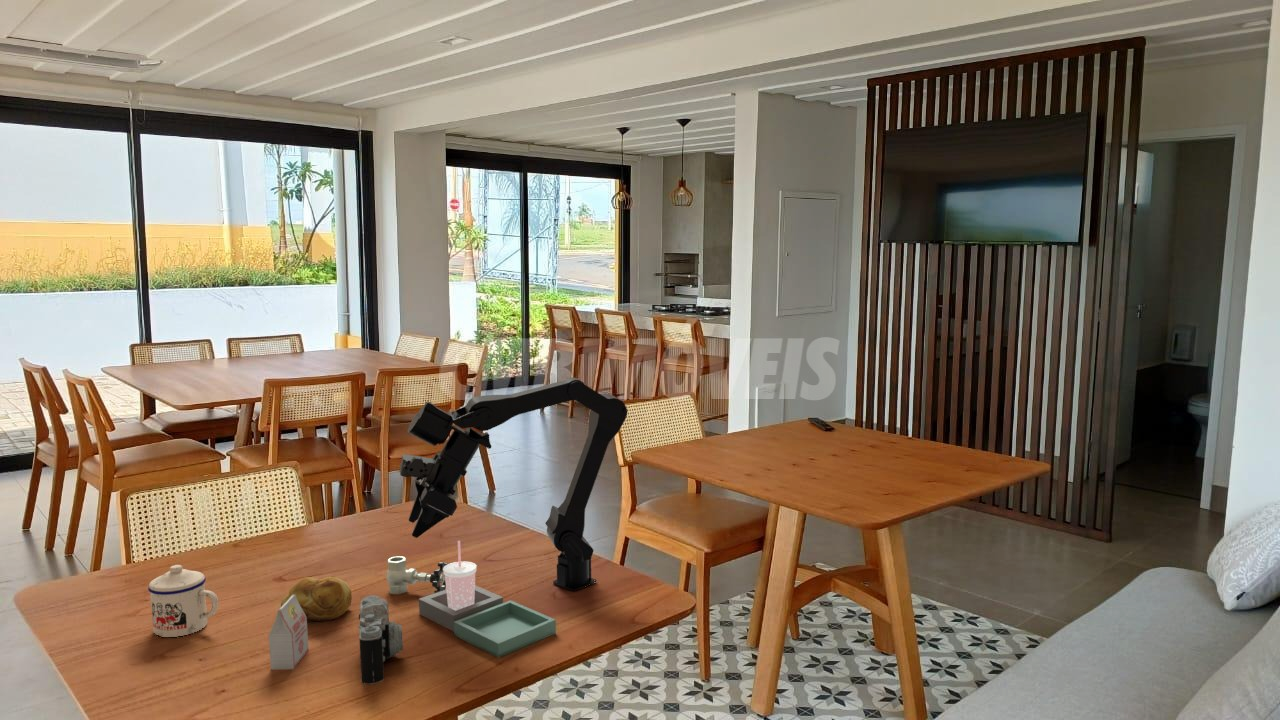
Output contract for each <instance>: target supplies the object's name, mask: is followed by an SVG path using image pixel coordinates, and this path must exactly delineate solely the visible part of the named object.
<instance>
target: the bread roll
mask: <svg viewBox="0 0 1280 720" xmlns="http://www.w3.org/2000/svg"><path fill="white" fill-rule="evenodd" d="M295 594H296V598H297V600H298V602H299V604H300V606H301V608H302V610H303V612H304V613H305V615H306V617H307V621H308V620H309V621H312V622H313V621H314V622H322V621H331V620H332V621H333V620H335V619H338V618H340V617H341V616H343V615H344V614H345V613H346V612H347V611H348V610H349V608H350V606H351V605H352V600H353V597H352V595H353V594H352V589H351V587H350V586H349V585H348V584H347V582H345V580H342V579H340V578H338V577H335V576H326V577H324V578H321V579H318V578H317V577H313V576H311V577H310V576H307V577H301V578H300V579H298V580H297V581H296V582H294V583H293V585H291V587H290V588H289V590H288V594H287V595H285V596H284V597H283V598H282V599H281V601H280V602H281V603H280V608H281V607H282V606H283V605H284V604H285V603H286V602H287V600H288V599H289V598H290V597H291V596H292V595H295Z"/></svg>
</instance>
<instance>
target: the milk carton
mask: <svg viewBox="0 0 1280 720" xmlns="http://www.w3.org/2000/svg"><path fill="white" fill-rule="evenodd" d="M307 622H308V619H307V617H306V615H305V613H304V612H303V610H302V608H301V606H300V604H299V602H298V600H297V598H296V594H295V595H292V596H291V597H290V598H289V599H288V600H287V602H286V603H285V604H284V605H283V606H282V607H281V606H280V608H279V609H278V610H277V615H276V617H275V619H274V622H273V625H272V627H271V629H270V631H269V633H268V644H269V645H268V646H269V660H270V661H269V662H270V670H271V669H272V670H295V668H296V667H297V666H298V664H299V663H300V662H301V661H300V660H302V659H303V658H304V657H305V655H307V653H308V651H309V638H308V637H309V636H308V635H309V634H308V623H307Z"/></svg>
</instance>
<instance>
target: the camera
mask: <svg viewBox="0 0 1280 720" xmlns="http://www.w3.org/2000/svg"><path fill="white" fill-rule="evenodd" d="M359 604H360V605H359V606H360V607H359V608H360V609H359V614H358V621H359V624H358V625H357V627H358V629H359V631H358V635H359V636H358V637H359V638H358V639H359V654H360V655H359V656H360V659H359V660H360V673H361V684H364V683H365V684H366V685H373V684H378V683H381V682H383V681H384V679H385V675H384V671H385V670H384V665H385V664H384V662H386V660H388V659H392V658H391V657H396V656H397V654H400V652H401V651H403V650H404V644H403V643H404V642H403V626H402V625H401V624H400V625H399V624H398V623H396V622H395V621H390V620H389V619H390V616H389V602H388V601H387V600H386V599H384V598H380V597H379V596H378V595H374V594H373V595H367V596H365V597H363V598H362V600H361V601H359Z"/></svg>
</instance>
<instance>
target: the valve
mask: <svg viewBox="0 0 1280 720" xmlns="http://www.w3.org/2000/svg"><path fill="white" fill-rule="evenodd" d="M406 561H407V559H406V557H405V556H399V555H398V556H392V557H390V558H388V559H387V564H388V566H387V567H388V569H387V571H386V580H387V583H388V590H389V594H390V595H391V594H392V595H402V594H405V593H406V592H408V584H409V585H415V584H416V583H417V582H421V583H428V582H430V584H431V586H432V587H433V588H435V590H434V592H433V594H434V593H437V592H440V591H443V590H446V582H445V575H444V573H443V568H444V566H446V565H447V564H450V563H449V562H442V561H441V562H438V563H437V567H439V568H438V569H434V570H433V572H431V574H430V573H428V572H418V570H417V568H409V569H408V568H407V562H406ZM441 584H442V585H441Z"/></svg>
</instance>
